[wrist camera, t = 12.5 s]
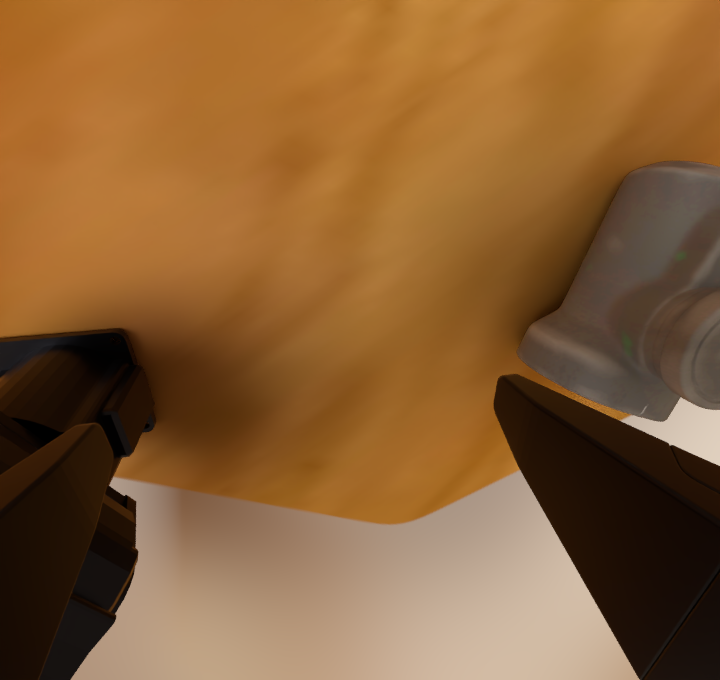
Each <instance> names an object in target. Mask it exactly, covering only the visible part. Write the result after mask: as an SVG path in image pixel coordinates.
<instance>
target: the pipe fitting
mask: <svg viewBox="0 0 720 680" xmlns="http://www.w3.org/2000/svg"><path fill="white" fill-rule="evenodd" d="M517 354H518V357H519V358H520V359H521V360H522V361H523V362H524V363H525V364H527V365H528V366H529V367H530V368H532V369H533V370H535V371H536V372H538V373H539V374H541V375H542V376H544V377H546V378H548V379H549V380H551V381H553V382H555V383H556V384H558V385H560V386H562V387H564V388H566V389H568V390H570V391H572V392H574V393H576V394H578V395H580V396H582V397H585V398H587V399H589V400H592V401H594V402H596V403H599V404H601V405H604V406H607V407H610V408H613V409H616V410H619V411H622V412H625V413H628V414H631V415H635V416H638V417H643V418H646V419H650V420H654V421H660V422H661V421H665V420H667V418H668V417H669V415H670V414H671V412H672V410H673V409H674V407H675V405H676V404H677V402H678V400H679V399H680V397H682V398H683V399H685V400H687V401H689V402H691V403H693V404H695V405H697V406H699V407H702V408H705V409H712V410H720V167H718V166H714V165H710V164H705V163H699V162H690V161H664V162H658V163H654V164H650V165H647V166H644V167H641V168H639V169H636V170H634V171H632V172H630V173H629V174H628V175H627V176H626V177H625V179H624V180H623V182H622V184H621V186H620V188H619V189H618V191H617V193H616V195H615V197H614V199H613V201H612V203H611V205H610V207H609V209H608V211H607V213H606V215H605V217H604V219H603V221H602V223H601V225H600V227H599V229H598V232H597V234H596V236H595V238H594V240H593V242H592V244H591V246H590V248H589V250H588V252H587V254H586V256H585V258H584V260H583V262H582V264H581V266H580V268H579V270H578V272H577V274H576V276H575V278H574V280H573V283H572V285H571V287H570V289H569V291H568V293H567V295H566V297H565V299H564V301H563V303H562V305H561V306H560V308H559V309H557V310H556V311H554V312H552V313H551V314H549V315H547V316H545V317H543V318H541V319H539V320H537V321H535V322H534V323H532V324H531V325H530V326H529V328H528V329H527V331H526V333H525V335H524V337H523V339H522V341H521V343H520V345H519V347H518V349H517Z"/></svg>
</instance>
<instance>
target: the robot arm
mask: <svg viewBox="0 0 720 680" xmlns="http://www.w3.org/2000/svg"><path fill="white" fill-rule="evenodd" d="M112 337H117V338H119V339H120V341H121V342H116V341H115V340H113V338H112ZM153 406H154V400H153V397H152V394H151V391H150V388H149V384H148V381H147V378H146V375H145V372H144V369H143V368H142V367H141V366H140V365H138V364H137V361H136V358H135V355H134V352H133V349H132V346H131V343H130V340H129V337H128V335H127V334H126V333H125V332H124V331H122V330H120V329H107V330H96V331H85V332H73V333H62V334H50V335H39V336H27V337H16V338H5V339H0V680H70V679H71V678H72V676H73V675H74V673H75V672H76V671H77V669H78V668H79V666H80V665H81V664H82V662H83V661H84V659H85V658H86V656H87V655H88V653H89V652H90V651H91V650H92V649H93V647H94V646H95V645H96V644H97V643H98V641H99V640H100V639H101V638H102V637H103V636H104V635H105V633H106V632H107V631H108V630H109V628H110V627H111V626H112V625H113V624H114V622H115V620H116V615H115V613H116V611H117V610H118V608H119V606H120V605H121V603H122V601H123V600H124V598H125V596H126V594H127V591H128V589H129V587H130V584H131V581H132V578H133V575H134V569H135V565H136V563H137V560H138V550H137V549H136V548H135V544H136V543H135V542H136V541H135V540H136V501H134V500H133V499H131V498H130V497H129V496H127V495H125V496H123V495H121V494H120V493H119V492H117V491H116V490H114V489H113V488H111V487H110V486H109V484H110V482H111V480H112V478H113V476H114V474H115V472H116V469H117V467H118V465H119V463H120V461H121V459H122V458H123V457H129V456H130V455H131V454H132V453H133V452H134V450H135V447H136V445H137V443H138V441H139V438H140V436H141V434H142V432H149V431H151V430H153V428H154V426H155V424H156V418H155V415H154V412H153ZM494 411H495V414H496V416H497V419H498V421H499V423H500V425H501V428H502V430H503V432H504V435H505V437H506V439H507V442H508V444H509V446H510V449H511V451H512V453H513V456H514V458H515V460H516V462H517V464H518V466H519V468H520V470H521V472H522V474H523V476H524V477H525V479H526V481H527V483H528V484H529V486H530V488H531V489H532V492H533V493H534V495H535V497H536V499H537V500H538V502H539V504H540V506H541V507H542V509H543V511H544V513H545V514H546V516H547V518H548V520H549V521H550V523H551V525H552V527H553V528H554V530H555V532H556V534H557V535H558V537H559V539H560V541H561V543H562V544H563V546H564V548H565V549H566V551H567V553H568V555H569V556H570V558H571V560H572V562H573V564H574V565H575V567H576V569H577V570H578V572H579V574H580V576H581V578H582V579H583V581H584V583H585V585H586V587H587V588H588V590H589V592H590V593H591V595H592V597H593V599H594V600H595V602H596V604H597V606H598V608H599V609H600V611H601V613H602V615H603V616H604V618H605V620H606V622H607V623H608V625H609V627H610V628H611V631H612V632H613V634H614V636H615V637H616V639H617V641H618V643H619V644H620V646H621V648H622V650H623V651H624V653H625V655H626V657H627V659H628V660H629V662H630V664H631V666H632V667H633V669H634V671H635V673H636V675H637V676H638V678H639V679H640V680H720V466H718V465H716V464H713V463H711V462H709V461H707V460H704V459H702V458H700V457H698V456H695V455H693V454H691V453H689V452H687V451H684V450H682V449H680V448H678V447H676V446H674V445H671V446H670V445H669V444H668V443H667V442H665V441H662V440H660V439H658V438H656V437H654V436H652V435H649V434H647V433H645V432H643V431H641V430H638V429H636V428H634V427H632V426H630V425H627V424H625V423H623V422H621V421H619V420H616V419H614V418H612V417H610V416H608V415H606V414H603V413H601V412H599V411H597V410H595V409H592V408H590V407H588V406H586V405H584V404H581V403H579V402H577V401H575V400H573V399H570V398H568V397H566V396H564V395H562V394H560V393H557V392H555V391H553V390H551V389H549V388H546V387H544V386H542V385H540V384H538V383H535V382H533V381H531V380H529V379H527V378H525V377H522V376H520V375H518V374H510V375H502V376H500V377H499V378H498V381H497V386H496V392H495V398H494ZM146 422H147V423H149V424H146Z"/></svg>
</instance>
